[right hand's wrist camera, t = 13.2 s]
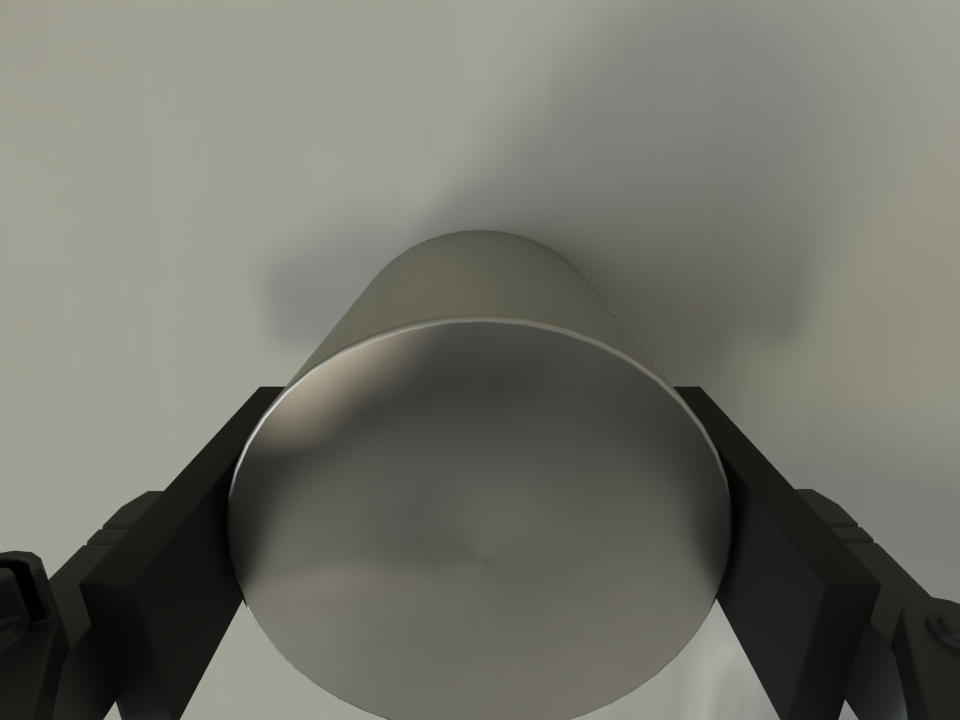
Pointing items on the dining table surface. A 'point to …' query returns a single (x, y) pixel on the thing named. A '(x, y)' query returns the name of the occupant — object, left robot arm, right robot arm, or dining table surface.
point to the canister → (479, 496)
